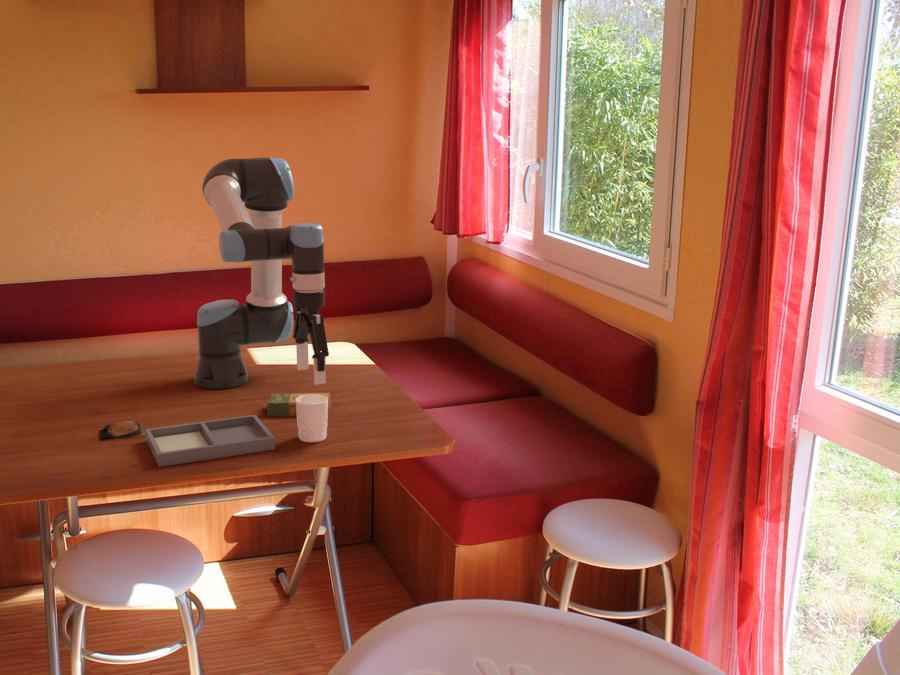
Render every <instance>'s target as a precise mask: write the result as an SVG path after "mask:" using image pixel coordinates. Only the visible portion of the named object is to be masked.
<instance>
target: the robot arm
mask: <svg viewBox="0 0 900 675" xmlns="http://www.w3.org/2000/svg"><path fill="white" fill-rule="evenodd" d="M291 170H292V169H291V168H290V165H289V162H287V161H286V160H285V159H284V158H279V157H270V156H269V157H250V158H228V159H225V160H222V161H219V162H218V163H216V164H215V165H213V166H212V167H211V168H210V169H209V170H208V172H207V173H206V174H205V176H204V178H203V181H202V187H201V188H202V196H203V197H204V200H205V201H206V203H207V205H209V206H210V207H212V209H213V212H214V214H215V217H216V219H217V222H218V225H219V226H220V227H219V228H220V229H221V232H220V233H219V238H218V245H219V253H220V257H221V260H222V261H223V262H225V263H243V262H244V263H246V262H250V274H251V275H250V282H251V284H250V285H251V286H250V287H251V288H250V289H251V290H250V293H248V294H247V296H246V298H245V304H240V303H239V301H237V300H236V299H232V298H231V299H220V300H215V301H212V302H208V303H205V304H203V305H201V306H200V307H199V308H198V310H197V314H196V315H197V317H196V318H197V320H196V326H197V336H198V353H199V354H198V356H199V357H198V361H197V365H196V368H195V371H194V376H193V380H194V384H195V386H197V387H199V388H202V389H203V388H204V389H207V390H209V389H210V390H223V389H226V390H227V389H231V388H236V387H240V386H243V385H245V384H246V383H248V382H249V374H248V370H247V368H246V365H245V362H244V359H243V357H242V354H241V351H242V350H241V346H247V345H258V344H275V343H278V342H279V343H280V342H284V341H286V340H288V339H289V338H290V337H291V335H292V334H293V336H292V338H293V339H294V340H295V343H296V366H297V367H296V369H297V371H302V370H309V369H310V368H309V366H310V365H309V342H311V346H312V350H313V354H312V356H311V358H312V359H313V362H312V363H313V384H314V385H323V384H327V369H326V358H327V357H329V355H330V352H329V348H328V340H327V335H326V330H325V329H326V328H325V323H324V315H323V314H320V313H319V310H318V309H319V308H323V307H324V306H325V305H326V294H325V292H326V291H325V290H324V289H325V287H326V284H325V283H326V282H325V281H326V278H325V272H326V271H325V256H324V255H325V253H324V252H325V250H324V248H325V247H324V243H325V237H324V230H323V227H322V225H321V224H319V223H313V222H301V223H295V224H292V225H288V226H285V227H283V226H282V225H283V213H284V212H285V211H287V209H288V202H291V201H293V199H294V197H295V185H294V178H293V174H292V171H291ZM248 212H249V213H250V215H249V213H248ZM283 260H291V274H292V276H291V277H289V279H290V282H292V289H294V290H293V291H292V303H291V302H290V301H288V297H287V296H286V295H285V294H284V293H283V285H282V284H283V279H282V277H283V275H282V274H283V268H282V266H283V264H282V263H283V262H282V261H283ZM294 307H295V319H294ZM293 326H294V327H293ZM292 330H293V331H292ZM292 332H293V333H292ZM308 336H309V337H308ZM309 338H310V340H309Z"/></svg>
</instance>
